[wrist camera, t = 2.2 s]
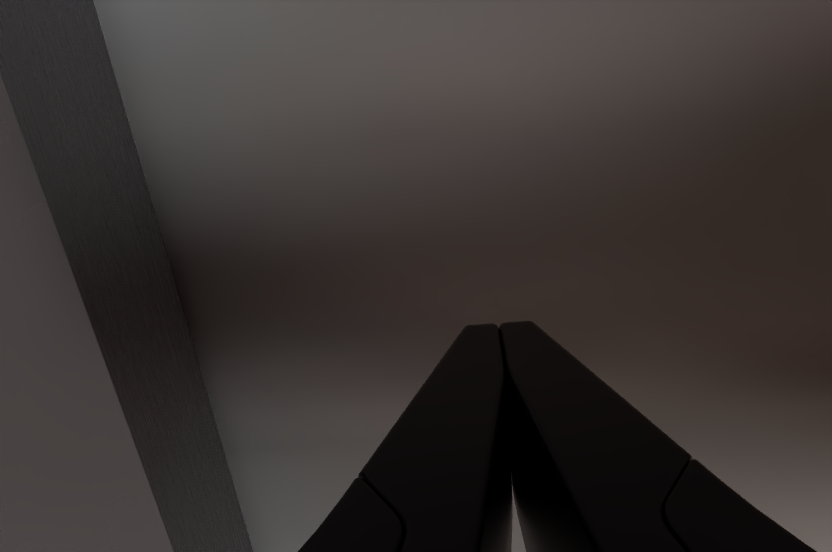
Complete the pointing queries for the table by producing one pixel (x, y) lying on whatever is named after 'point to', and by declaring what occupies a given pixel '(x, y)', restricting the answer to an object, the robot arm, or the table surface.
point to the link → (92, 318)
